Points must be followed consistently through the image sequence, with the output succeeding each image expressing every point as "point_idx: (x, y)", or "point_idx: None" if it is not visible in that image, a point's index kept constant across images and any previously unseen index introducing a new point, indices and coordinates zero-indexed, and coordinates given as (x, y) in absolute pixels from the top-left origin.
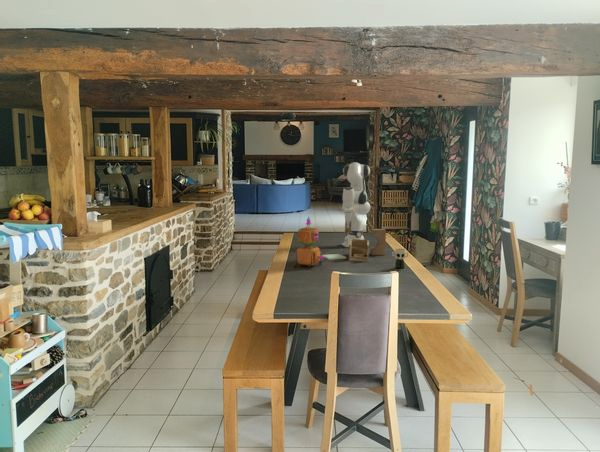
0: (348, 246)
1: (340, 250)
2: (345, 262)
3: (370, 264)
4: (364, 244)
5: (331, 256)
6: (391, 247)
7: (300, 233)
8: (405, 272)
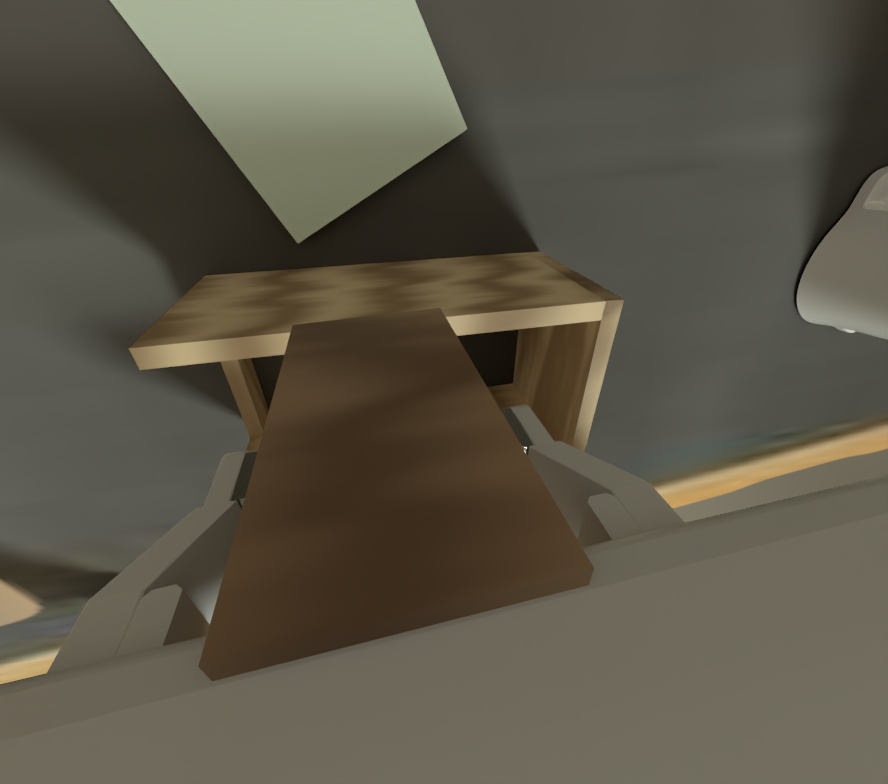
0: (859, 202)
1: (734, 128)
2: (87, 251)
3: (142, 455)
4: (550, 413)
5: (268, 25)
6: (741, 465)
7: None
8: (20, 630)
